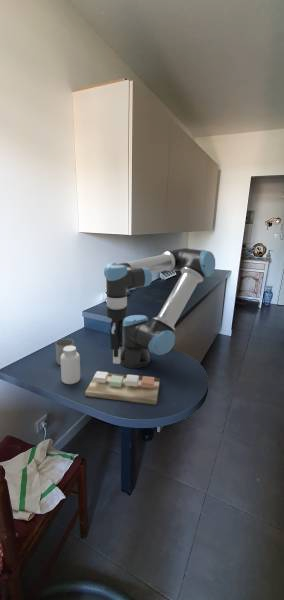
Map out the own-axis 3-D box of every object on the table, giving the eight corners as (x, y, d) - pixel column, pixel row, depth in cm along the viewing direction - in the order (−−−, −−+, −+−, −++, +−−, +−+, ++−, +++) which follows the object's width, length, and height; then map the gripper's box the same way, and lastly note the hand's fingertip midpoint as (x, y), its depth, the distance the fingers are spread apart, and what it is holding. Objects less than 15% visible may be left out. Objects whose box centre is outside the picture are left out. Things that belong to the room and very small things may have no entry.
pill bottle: (63, 386, 114) (61, 353, 110) (60, 376, 121) (58, 345, 117) (82, 382, 117) (81, 350, 113) (78, 373, 124) (77, 342, 120)
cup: (61, 367, 129) (60, 347, 126) (53, 360, 135) (52, 341, 132) (77, 361, 134) (76, 342, 132) (69, 355, 140) (68, 337, 138)
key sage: (112, 379, 115) (112, 375, 115) (123, 380, 115) (123, 376, 114) (109, 385, 111) (109, 381, 110) (120, 387, 110) (120, 382, 110)
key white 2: (127, 378, 114) (127, 374, 114) (138, 379, 114) (138, 375, 113) (124, 385, 110) (125, 380, 109) (136, 386, 109) (136, 382, 108)
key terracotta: (142, 380, 113) (142, 376, 113) (154, 381, 113) (154, 377, 112) (141, 386, 109) (141, 382, 108) (153, 388, 108) (153, 383, 108)
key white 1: (97, 375, 116) (97, 371, 115) (108, 376, 115) (108, 372, 115) (93, 381, 111) (93, 377, 111) (105, 382, 111) (104, 378, 110)
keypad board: (96, 377, 122) (96, 371, 121) (159, 383, 118) (159, 378, 117) (85, 396, 108) (85, 390, 108) (156, 404, 105) (156, 398, 104)
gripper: (111, 301, 110) (111, 354, 117) (102, 311, 98) (103, 370, 105) (129, 302, 109) (129, 355, 116) (122, 312, 97) (122, 372, 104)
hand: (116, 362), depth 110 cm, fingers closed
